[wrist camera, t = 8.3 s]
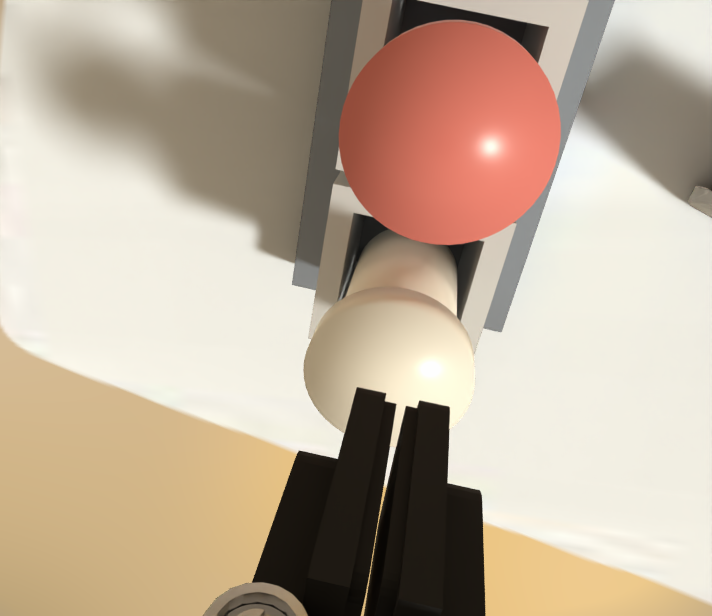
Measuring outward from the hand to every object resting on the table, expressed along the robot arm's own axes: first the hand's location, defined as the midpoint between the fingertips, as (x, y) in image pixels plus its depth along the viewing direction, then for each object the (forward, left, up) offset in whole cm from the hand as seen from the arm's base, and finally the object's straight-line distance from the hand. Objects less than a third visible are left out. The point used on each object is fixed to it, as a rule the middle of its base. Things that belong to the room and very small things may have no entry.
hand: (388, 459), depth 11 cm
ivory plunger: (0, +4, -16) cm, 17 cm away
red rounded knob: (0, -4, -16) cm, 16 cm away
